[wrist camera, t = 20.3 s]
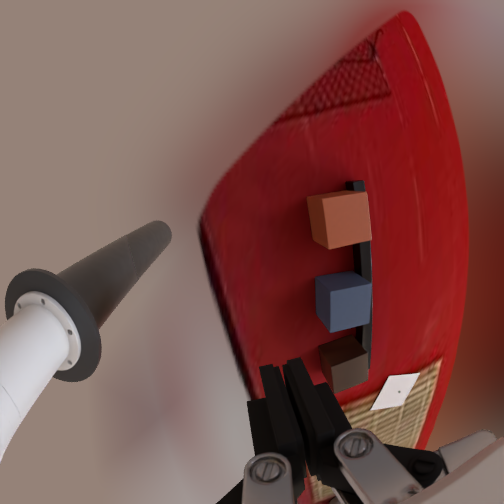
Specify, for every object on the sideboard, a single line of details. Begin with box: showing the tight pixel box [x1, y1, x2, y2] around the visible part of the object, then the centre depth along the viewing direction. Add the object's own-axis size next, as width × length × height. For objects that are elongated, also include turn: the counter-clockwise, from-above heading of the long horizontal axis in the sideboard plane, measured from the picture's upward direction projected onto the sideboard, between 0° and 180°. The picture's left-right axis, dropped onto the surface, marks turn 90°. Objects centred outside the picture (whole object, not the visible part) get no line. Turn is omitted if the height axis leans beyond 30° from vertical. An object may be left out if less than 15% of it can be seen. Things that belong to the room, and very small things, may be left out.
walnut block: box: [318, 334, 368, 394], centre depth 33 cm, size 5×5×5 cm
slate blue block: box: [315, 271, 371, 333], centre depth 30 cm, size 5×5×5 cm
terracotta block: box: [306, 190, 372, 249], centre depth 28 cm, size 5×5×5 cm
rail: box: [346, 180, 372, 369], centre depth 32 cm, size 2×26×2 cm, turn 10°
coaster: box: [371, 373, 420, 410], centre depth 39 cm, size 8×8×1 cm
